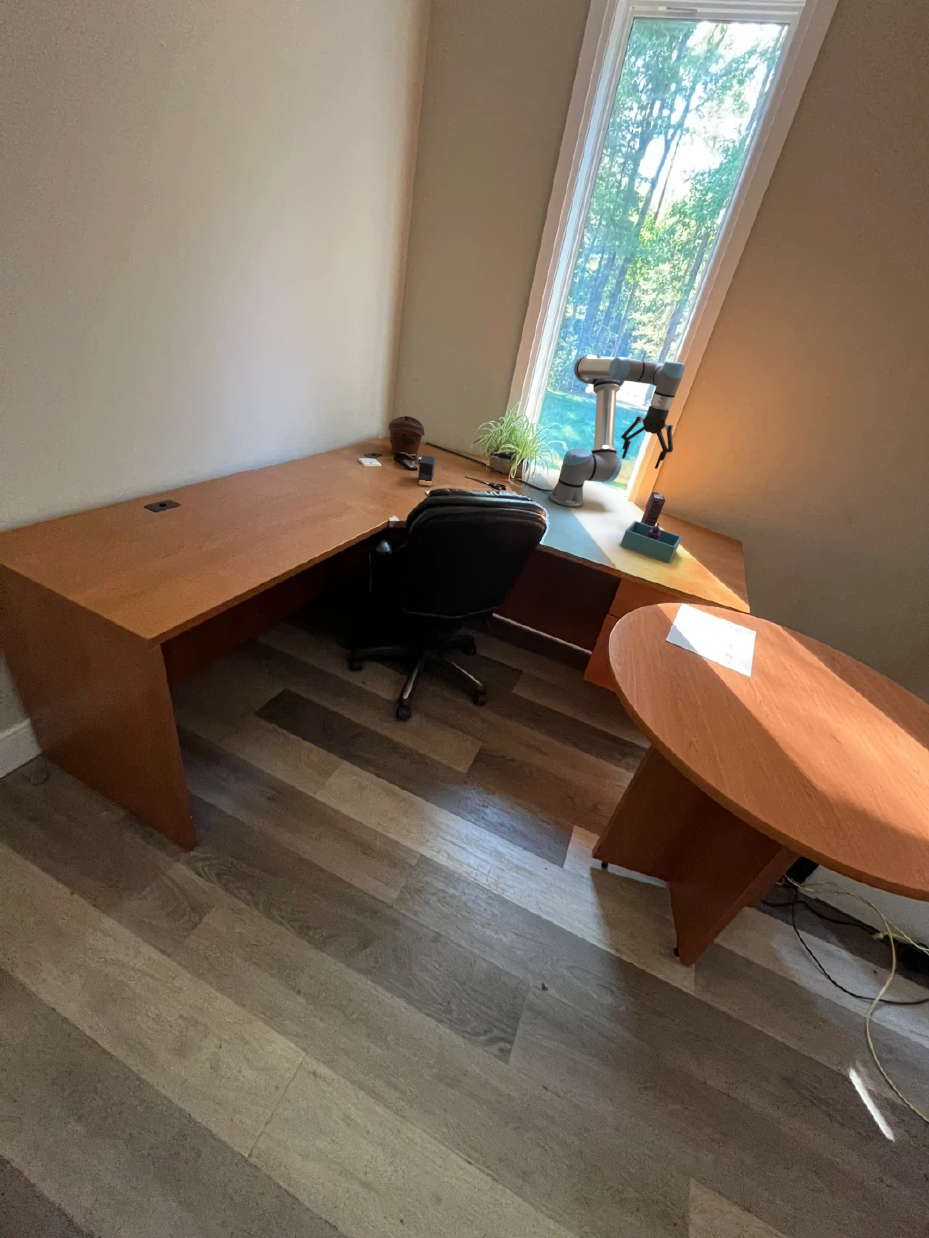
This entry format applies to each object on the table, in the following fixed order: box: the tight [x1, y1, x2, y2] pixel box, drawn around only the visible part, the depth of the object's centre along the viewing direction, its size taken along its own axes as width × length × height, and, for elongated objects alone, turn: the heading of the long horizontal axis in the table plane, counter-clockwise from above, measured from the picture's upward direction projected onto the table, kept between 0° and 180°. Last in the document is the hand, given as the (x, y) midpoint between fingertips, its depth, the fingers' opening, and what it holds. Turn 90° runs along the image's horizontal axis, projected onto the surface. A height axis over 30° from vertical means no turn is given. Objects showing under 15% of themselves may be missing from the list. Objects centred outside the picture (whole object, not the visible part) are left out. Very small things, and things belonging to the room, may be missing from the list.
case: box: [387, 415, 425, 456], centre depth 247 cm, size 18×20×18 cm
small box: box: [417, 455, 436, 481], centre depth 220 cm, size 11×6×10 cm, turn 178°
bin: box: [620, 520, 683, 564], centre depth 196 cm, size 20×14×7 cm
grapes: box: [646, 522, 661, 541], centre depth 195 cm, size 5×5×10 cm
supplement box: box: [640, 491, 666, 527], centre depth 210 cm, size 9×5×16 cm, turn 168°
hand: (639, 463), depth 196 cm, fingers open, 13 cm apart
